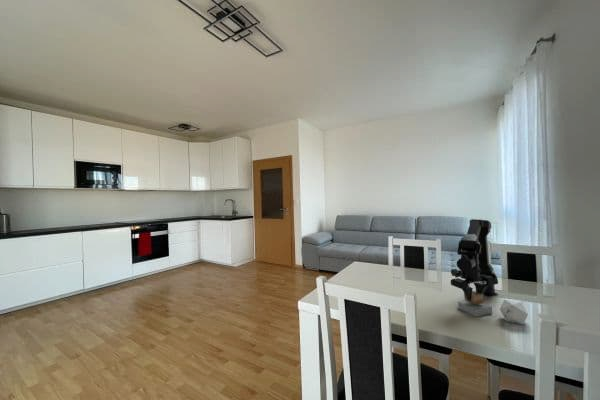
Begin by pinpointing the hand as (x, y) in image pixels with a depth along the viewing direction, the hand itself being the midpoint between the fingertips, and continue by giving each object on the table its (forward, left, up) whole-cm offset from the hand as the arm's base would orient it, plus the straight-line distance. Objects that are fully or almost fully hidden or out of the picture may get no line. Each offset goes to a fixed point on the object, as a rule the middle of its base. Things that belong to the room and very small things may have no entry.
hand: (473, 299), depth 107 cm
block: (0, 0, -1) cm, 1 cm away
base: (0, 0, -5) cm, 5 cm away
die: (-6, +12, -5) cm, 15 cm away
